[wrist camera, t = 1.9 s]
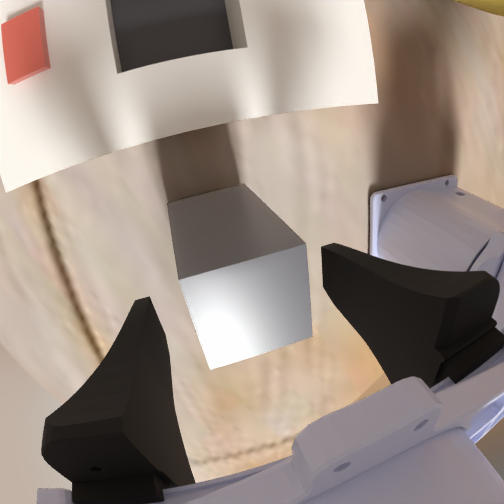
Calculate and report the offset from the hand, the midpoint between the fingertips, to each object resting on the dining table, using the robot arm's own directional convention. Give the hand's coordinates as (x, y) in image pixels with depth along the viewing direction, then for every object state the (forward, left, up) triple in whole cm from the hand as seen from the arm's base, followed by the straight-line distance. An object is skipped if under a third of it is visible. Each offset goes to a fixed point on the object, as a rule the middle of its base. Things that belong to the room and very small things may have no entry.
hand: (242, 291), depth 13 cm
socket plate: (0, -12, -8) cm, 15 cm away
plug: (0, 0, -8) cm, 8 cm away
